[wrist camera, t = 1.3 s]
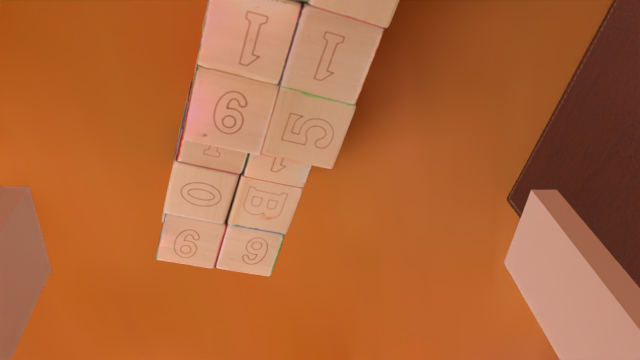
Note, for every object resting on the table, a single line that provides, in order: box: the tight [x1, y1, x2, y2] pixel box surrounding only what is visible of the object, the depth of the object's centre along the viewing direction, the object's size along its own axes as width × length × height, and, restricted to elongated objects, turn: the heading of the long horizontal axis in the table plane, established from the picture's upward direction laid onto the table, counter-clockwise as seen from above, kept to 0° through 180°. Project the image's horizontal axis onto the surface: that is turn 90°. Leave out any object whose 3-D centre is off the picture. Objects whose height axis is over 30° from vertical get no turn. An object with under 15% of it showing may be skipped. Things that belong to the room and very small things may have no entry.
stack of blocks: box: [156, 0, 400, 276], centre depth 25 cm, size 21×6×12 cm, turn 161°
